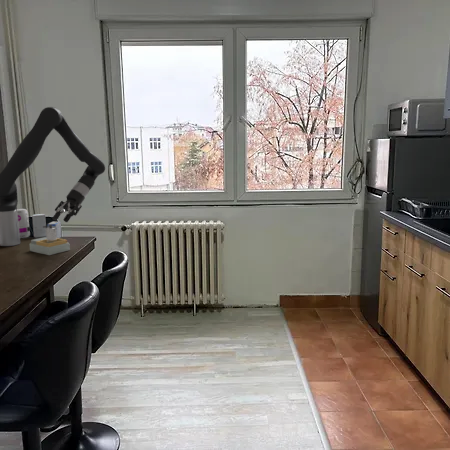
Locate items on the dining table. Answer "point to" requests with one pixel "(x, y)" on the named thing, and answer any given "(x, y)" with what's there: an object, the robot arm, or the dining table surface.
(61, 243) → the bottle holder tray
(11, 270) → the dining table surface
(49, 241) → the grey tall cylinder
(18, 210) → the supplement can
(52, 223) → the medicine box
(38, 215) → the skincare box
